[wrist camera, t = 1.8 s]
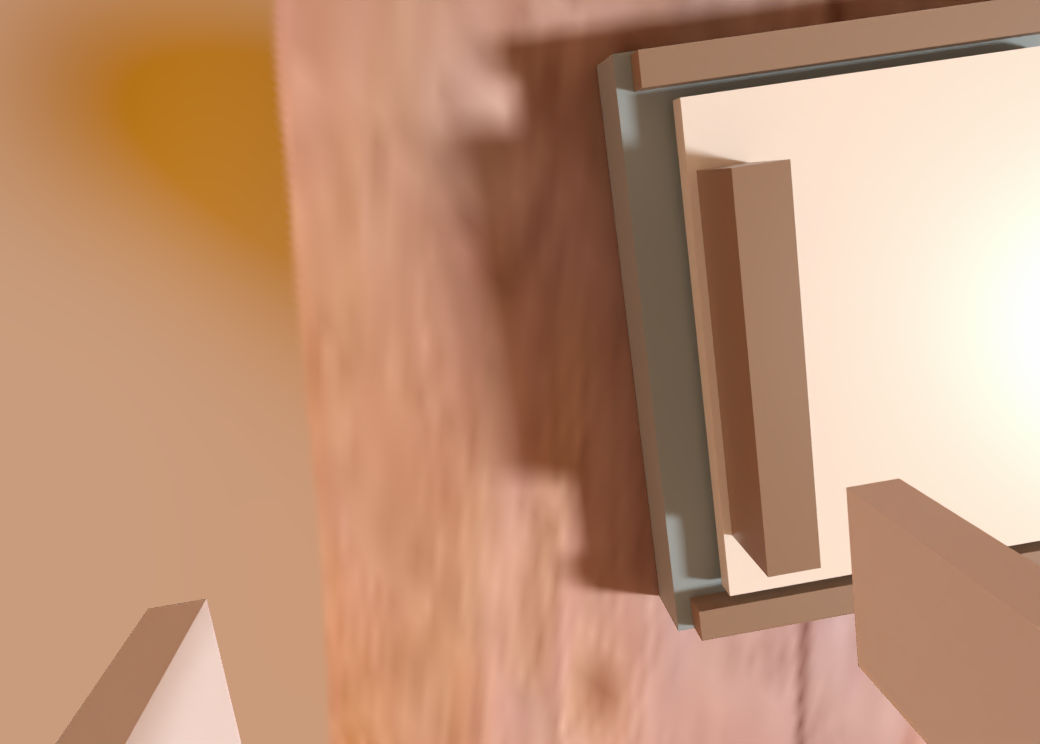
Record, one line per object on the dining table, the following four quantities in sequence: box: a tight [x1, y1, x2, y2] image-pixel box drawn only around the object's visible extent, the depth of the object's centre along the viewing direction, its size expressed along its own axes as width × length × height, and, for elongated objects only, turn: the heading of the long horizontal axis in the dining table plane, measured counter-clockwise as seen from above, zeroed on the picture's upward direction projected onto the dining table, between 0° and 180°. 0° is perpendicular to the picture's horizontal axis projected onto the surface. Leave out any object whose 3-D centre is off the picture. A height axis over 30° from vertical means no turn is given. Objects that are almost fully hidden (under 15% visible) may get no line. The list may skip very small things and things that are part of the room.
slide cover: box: [673, 46, 1040, 596], centre depth 25 cm, size 15×11×4 cm
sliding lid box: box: [597, 0, 1040, 641], centre depth 28 cm, size 18×24×4 cm
